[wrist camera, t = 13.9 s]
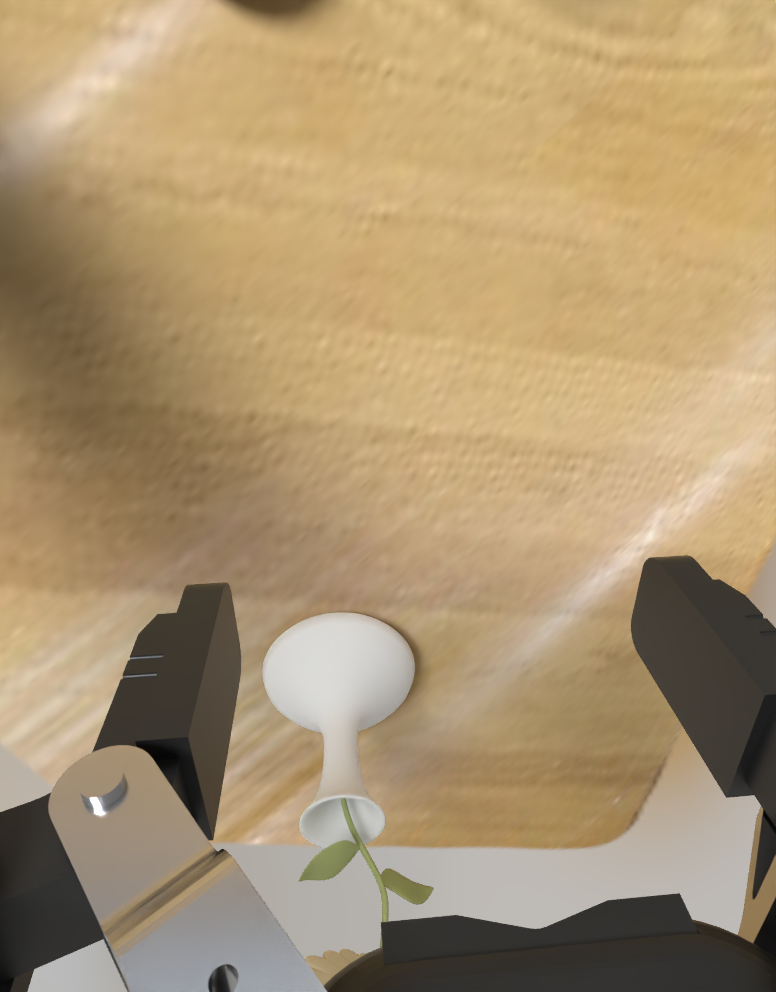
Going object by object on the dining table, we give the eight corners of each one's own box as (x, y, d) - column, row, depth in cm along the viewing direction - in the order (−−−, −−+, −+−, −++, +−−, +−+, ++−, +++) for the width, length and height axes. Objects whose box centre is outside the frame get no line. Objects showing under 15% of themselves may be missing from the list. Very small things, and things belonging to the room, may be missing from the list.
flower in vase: (232, 658, 48) (153, 1084, 26) (342, 571, 45) (355, 971, 23) (350, 739, 53) (365, 1149, 32) (454, 667, 50) (552, 1064, 29)
